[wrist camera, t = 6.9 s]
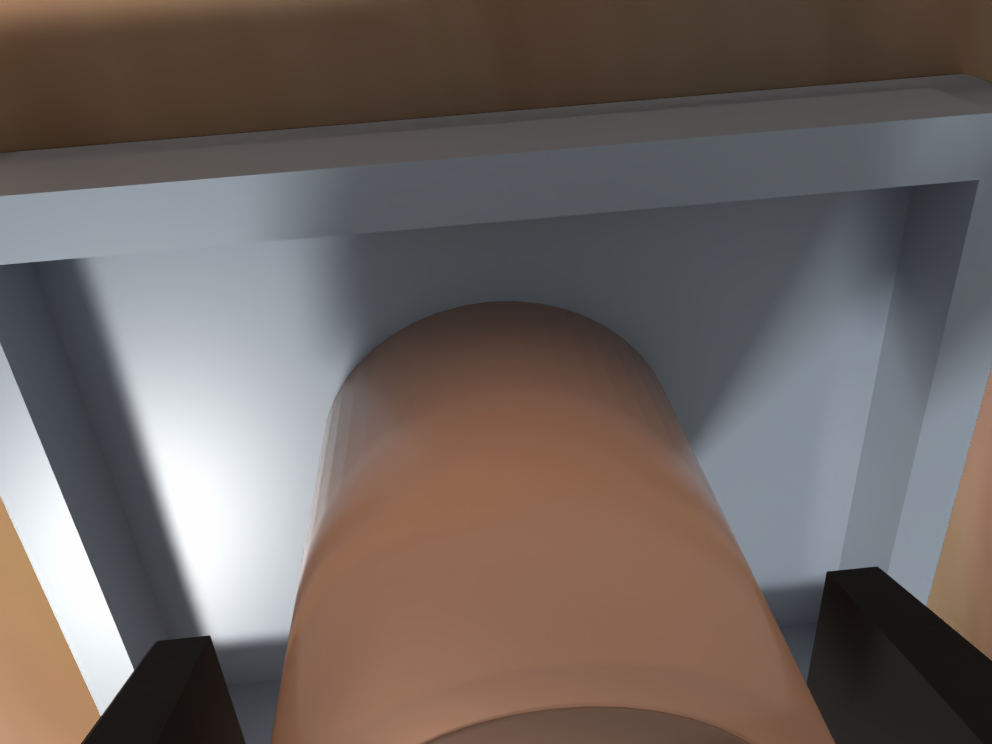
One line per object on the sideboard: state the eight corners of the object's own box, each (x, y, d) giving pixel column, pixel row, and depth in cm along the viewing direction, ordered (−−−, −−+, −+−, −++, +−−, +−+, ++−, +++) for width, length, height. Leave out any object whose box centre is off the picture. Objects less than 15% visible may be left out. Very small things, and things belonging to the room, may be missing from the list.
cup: (666, 571, 15) (817, 989, 9) (351, 605, 15) (310, 1051, 9) (681, 283, 12) (910, 630, 6) (291, 320, 12) (177, 712, 6)
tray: (849, 623, 17) (898, 707, 15) (165, 696, 16) (134, 790, 15) (965, 74, 12) (1061, 106, 10) (-45, 156, 11) (-132, 207, 9)
